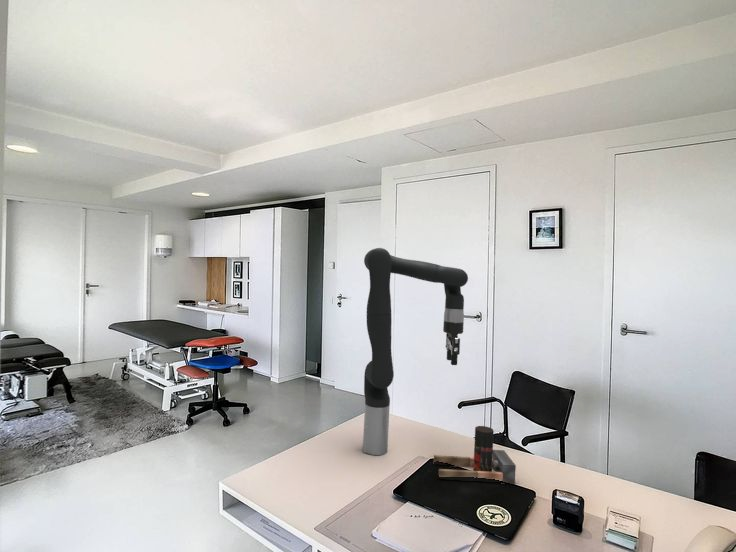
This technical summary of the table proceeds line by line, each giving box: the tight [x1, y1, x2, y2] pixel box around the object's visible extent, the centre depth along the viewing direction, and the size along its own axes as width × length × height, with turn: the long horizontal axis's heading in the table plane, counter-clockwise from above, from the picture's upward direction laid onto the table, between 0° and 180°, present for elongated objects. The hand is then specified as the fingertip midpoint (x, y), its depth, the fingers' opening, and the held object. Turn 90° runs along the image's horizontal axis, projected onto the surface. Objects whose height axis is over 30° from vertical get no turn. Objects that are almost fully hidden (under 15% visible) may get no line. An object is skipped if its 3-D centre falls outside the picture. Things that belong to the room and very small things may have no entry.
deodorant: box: [472, 425, 494, 472], centre depth 134 cm, size 6×6×15 cm
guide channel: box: [433, 449, 517, 485], centre depth 133 cm, size 24×11×6 cm, turn 89°
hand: (451, 362), depth 153 cm, fingers open, 8 cm apart
